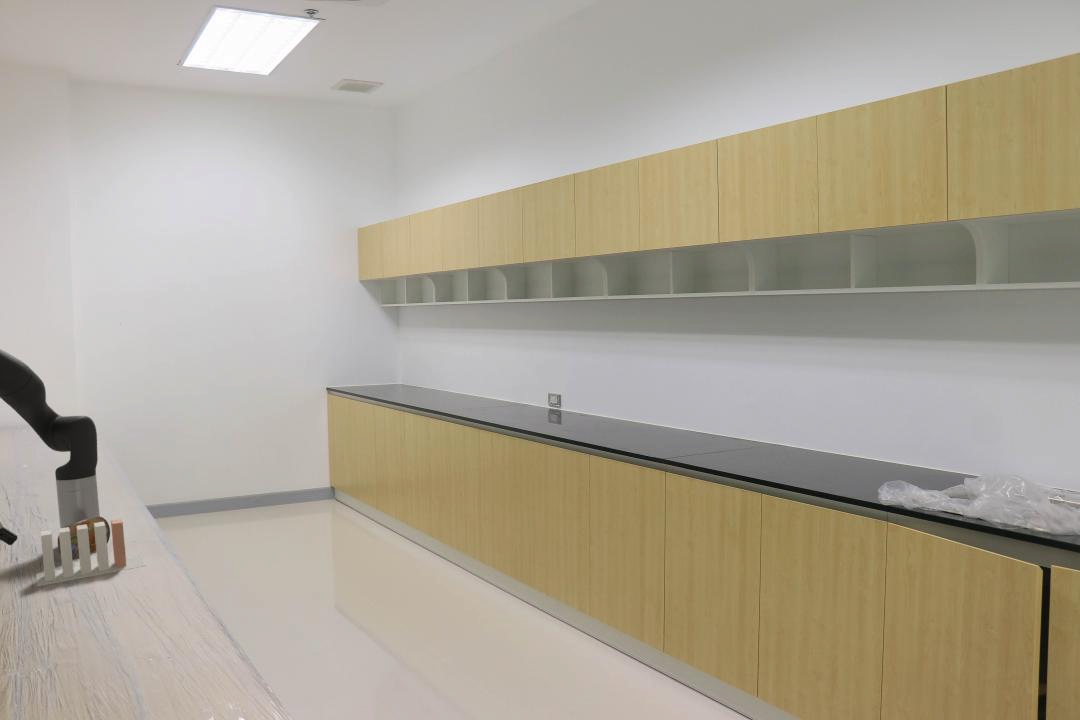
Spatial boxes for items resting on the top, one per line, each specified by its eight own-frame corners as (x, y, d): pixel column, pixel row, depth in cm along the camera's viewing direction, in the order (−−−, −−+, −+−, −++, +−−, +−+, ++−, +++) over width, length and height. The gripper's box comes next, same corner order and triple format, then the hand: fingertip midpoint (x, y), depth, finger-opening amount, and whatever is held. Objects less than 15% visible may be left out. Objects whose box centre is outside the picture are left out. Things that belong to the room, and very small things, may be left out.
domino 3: (80, 569, 188) (76, 525, 188) (90, 567, 189) (86, 524, 189) (81, 574, 184) (77, 529, 184) (91, 572, 185) (87, 528, 185)
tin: (67, 563, 196) (64, 528, 196) (56, 563, 197) (53, 528, 197) (112, 545, 211) (109, 513, 211) (101, 545, 212) (99, 513, 211)
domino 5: (114, 562, 192) (110, 520, 191) (124, 561, 193) (120, 518, 193) (116, 567, 188) (112, 524, 187) (126, 565, 189) (122, 522, 188)
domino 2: (62, 572, 186) (58, 528, 186) (72, 570, 187) (68, 527, 187) (63, 577, 182) (59, 532, 182) (73, 575, 183) (69, 531, 183)
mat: (36, 575, 187) (36, 573, 187) (139, 556, 198) (138, 555, 198) (37, 588, 177) (37, 586, 177) (145, 567, 188) (145, 565, 188)
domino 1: (44, 575, 185) (40, 531, 184) (54, 573, 186) (50, 530, 185) (45, 581, 180) (40, 535, 180) (55, 579, 181) (51, 534, 181)
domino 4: (97, 566, 190) (93, 523, 190) (107, 564, 191) (103, 521, 191) (99, 570, 186) (95, 526, 185) (109, 568, 187) (105, 525, 186)
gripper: (-49, 484, 168) (27, 532, 175) (-44, 476, 179) (27, 521, 186) (-78, 514, 166) (0, 562, 173) (-72, 504, 177) (2, 549, 184)
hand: (14, 541), depth 179 cm, fingers closed
